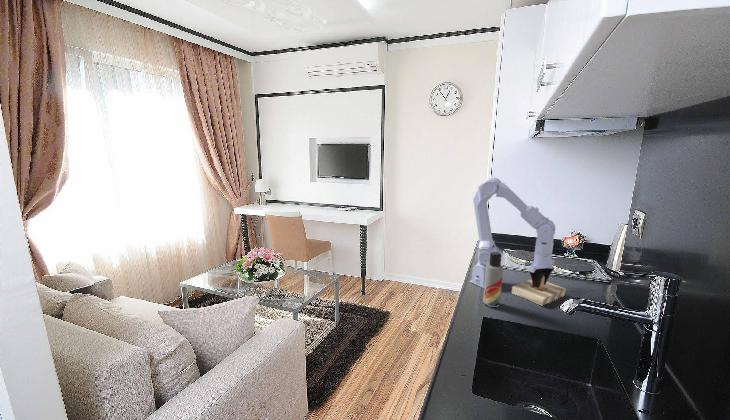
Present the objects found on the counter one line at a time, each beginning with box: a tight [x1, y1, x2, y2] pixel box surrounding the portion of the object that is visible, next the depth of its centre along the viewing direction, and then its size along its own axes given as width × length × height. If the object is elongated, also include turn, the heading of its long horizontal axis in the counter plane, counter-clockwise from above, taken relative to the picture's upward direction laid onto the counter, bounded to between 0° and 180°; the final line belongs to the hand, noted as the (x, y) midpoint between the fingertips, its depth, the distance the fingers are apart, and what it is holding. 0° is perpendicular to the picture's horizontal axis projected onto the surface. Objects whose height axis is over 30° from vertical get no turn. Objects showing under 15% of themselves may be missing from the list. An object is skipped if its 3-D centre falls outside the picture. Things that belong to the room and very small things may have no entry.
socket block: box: [511, 278, 567, 307], centre depth 122 cm, size 16×12×3 cm
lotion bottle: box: [482, 251, 504, 306], centre depth 113 cm, size 6×6×20 cm
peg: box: [534, 276, 545, 291], centre depth 121 cm, size 3×3×8 cm
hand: (539, 285), depth 121 cm, fingers open, 4 cm apart
